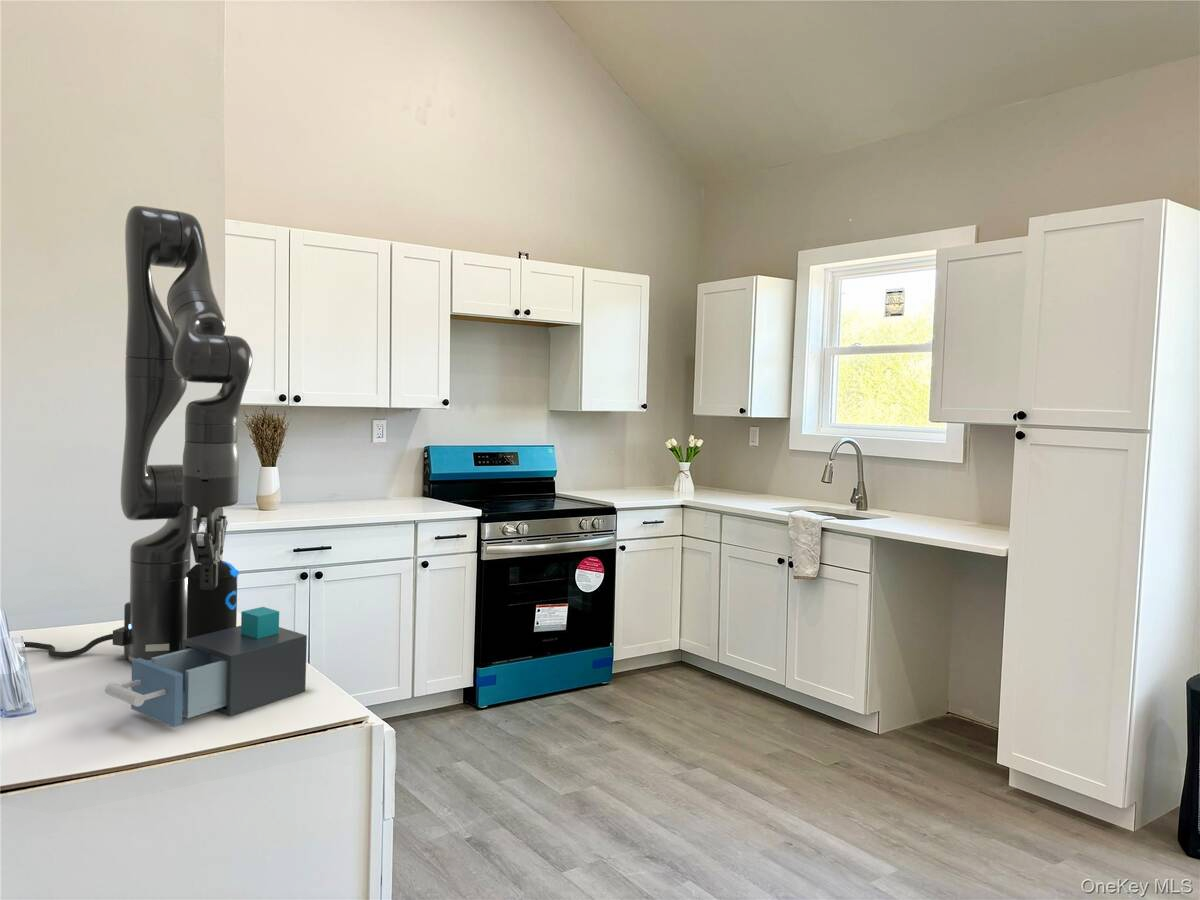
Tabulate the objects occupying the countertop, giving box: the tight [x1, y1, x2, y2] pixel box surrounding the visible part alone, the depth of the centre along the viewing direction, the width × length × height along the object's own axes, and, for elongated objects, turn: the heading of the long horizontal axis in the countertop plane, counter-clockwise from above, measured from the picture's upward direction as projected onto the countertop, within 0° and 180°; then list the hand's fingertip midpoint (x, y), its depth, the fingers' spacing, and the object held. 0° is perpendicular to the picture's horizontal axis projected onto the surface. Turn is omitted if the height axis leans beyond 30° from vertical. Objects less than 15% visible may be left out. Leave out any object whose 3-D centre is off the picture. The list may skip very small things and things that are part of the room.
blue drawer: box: [104, 648, 228, 728], centre depth 129 cm, size 17×10×7 cm, turn 148°
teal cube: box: [240, 606, 280, 639], centre depth 140 cm, size 4×4×4 cm
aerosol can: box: [186, 559, 240, 639], centre depth 150 cm, size 8×8×20 cm
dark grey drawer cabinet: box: [183, 625, 308, 717], centre depth 138 cm, size 14×12×9 cm
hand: (208, 588), depth 132 cm, fingers closed
